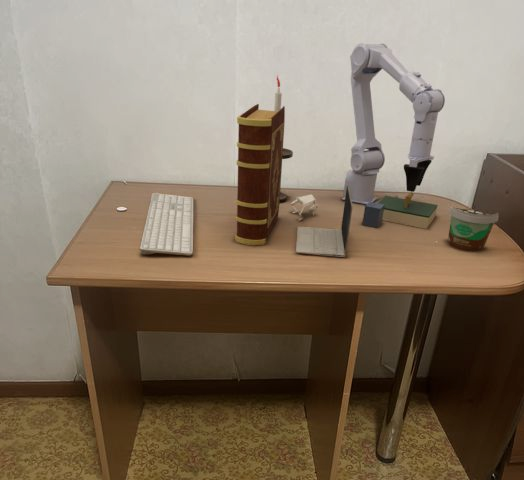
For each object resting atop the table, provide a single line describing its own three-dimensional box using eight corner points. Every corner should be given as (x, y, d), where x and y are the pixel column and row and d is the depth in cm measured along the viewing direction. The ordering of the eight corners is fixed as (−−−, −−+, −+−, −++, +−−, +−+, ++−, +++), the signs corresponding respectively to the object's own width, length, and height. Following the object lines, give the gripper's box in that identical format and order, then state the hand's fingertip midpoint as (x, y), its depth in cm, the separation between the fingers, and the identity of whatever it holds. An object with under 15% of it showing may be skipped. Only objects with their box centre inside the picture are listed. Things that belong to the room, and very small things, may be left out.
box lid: (374, 207, 153) (376, 194, 150) (385, 197, 162) (387, 184, 160) (429, 218, 147) (432, 204, 145) (437, 206, 156) (440, 193, 154)
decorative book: (263, 247, 132) (269, 120, 116) (233, 243, 133) (235, 117, 117) (279, 218, 151) (286, 105, 134) (252, 215, 152) (256, 103, 135)
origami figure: (289, 208, 158) (290, 192, 156) (316, 210, 158) (318, 194, 156) (289, 222, 148) (290, 205, 146) (318, 223, 148) (320, 206, 146)
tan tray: (374, 218, 154) (375, 208, 152) (385, 207, 163) (386, 197, 162) (426, 229, 149) (429, 218, 147) (434, 217, 158) (437, 206, 156)
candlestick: (248, 196, 166) (252, 74, 147) (273, 191, 173) (280, 72, 153) (271, 205, 160) (278, 78, 140) (296, 199, 166) (306, 77, 147)
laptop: (297, 228, 144) (301, 181, 137) (342, 232, 144) (348, 184, 136) (295, 254, 129) (299, 202, 122) (345, 258, 129) (353, 206, 121)
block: (362, 224, 149) (365, 205, 146) (366, 220, 153) (369, 201, 150) (377, 227, 148) (380, 208, 145) (381, 223, 151) (384, 204, 148)
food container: (437, 246, 138) (446, 209, 132) (442, 239, 142) (451, 203, 137) (486, 256, 133) (497, 219, 128) (489, 249, 138) (500, 212, 132)
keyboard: (192, 257, 125) (192, 248, 123) (140, 257, 123) (139, 248, 122) (193, 199, 161) (193, 192, 160) (153, 199, 160) (152, 191, 158)
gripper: (431, 144, 137) (422, 195, 144) (441, 136, 148) (432, 184, 155) (405, 141, 139) (397, 192, 146) (417, 133, 150) (408, 181, 157)
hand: (413, 188), depth 151 cm, fingers open, 7 cm apart
